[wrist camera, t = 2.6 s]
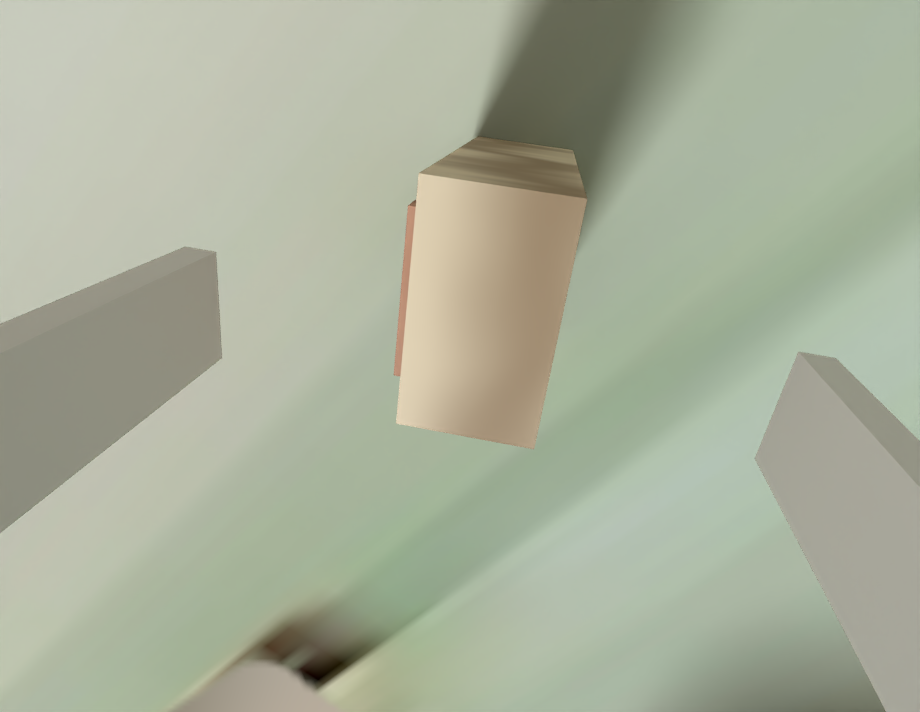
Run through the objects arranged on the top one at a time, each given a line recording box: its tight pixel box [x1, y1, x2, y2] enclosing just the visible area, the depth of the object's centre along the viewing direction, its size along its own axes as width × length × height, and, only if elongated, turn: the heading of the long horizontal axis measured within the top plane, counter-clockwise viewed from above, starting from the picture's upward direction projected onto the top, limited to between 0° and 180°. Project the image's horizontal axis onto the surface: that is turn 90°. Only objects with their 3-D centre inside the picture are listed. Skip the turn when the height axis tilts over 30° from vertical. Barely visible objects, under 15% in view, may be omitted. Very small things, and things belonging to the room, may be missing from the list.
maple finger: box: [394, 136, 587, 449], centre depth 21 cm, size 4×7×12 cm, turn 173°
